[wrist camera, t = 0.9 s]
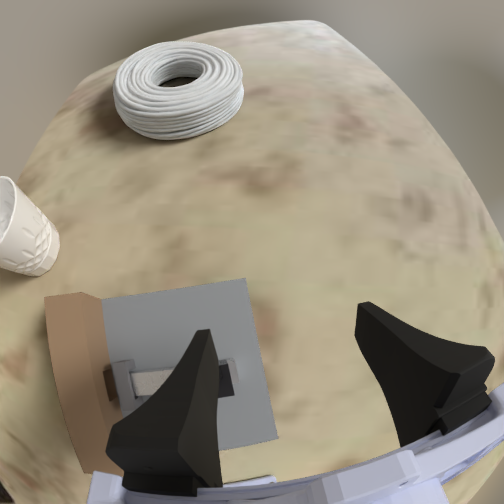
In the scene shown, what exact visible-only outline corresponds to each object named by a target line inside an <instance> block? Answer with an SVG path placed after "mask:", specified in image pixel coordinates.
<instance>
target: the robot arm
mask: <svg viewBox="0 0 504 504" xmlns="http://www.w3.org/2000/svg"><path fill="white" fill-rule="evenodd" d="M355 338H356V341H357V343H358V346H359V348H360V350H361V352H362V354H363V356H364V358H365V360H366V361H367V363H368V365H369V367H370V368H371V370H372V372H373V373H374V375H375V377H376V379H377V381H378V382H379V384H380V386H381V388H382V390H383V393H384V395H385V398H386V400H387V403H388V406H389V409H390V411H391V414H392V417H393V421H394V424H395V427H396V431H397V434H398V439H399V443H400V447H401V448H399V449H397V450H394V451H392V452H389V453H387V454H384V455H381V456H379V457H376V458H373V459H370V460H367V461H364V462H361V463H358V464H355V465H352V466H349V467H345V468H342V469H338V470H335V471H331V472H327V473H323V474H319V475H314V476H310V477H305V478H300V479H295V480H289V481H283V482H276V478H275V476H273V475H269V476H265V477H260V478H256V479H251V480H246V481H240V482H235V483H228V484H223V483H222V476H221V467H220V458H219V447H218V434H217V406H218V391H219V362H218V356H217V353H216V349H215V346H214V342H213V338H212V335H211V331H210V329H203V330H197V331H196V332H195V334H194V336H193V338H192V340H191V342H190V344H189V346H188V348H187V349H186V351H185V353H184V354H183V356H182V358H181V359H180V361H179V363H178V364H177V365H176V367H175V368H174V370H173V371H172V373H171V374H170V375H169V377H168V378H167V379H166V381H165V382H164V383H163V384H162V385H161V386H160V388H159V389H158V390H157V391H156V392H155V393H154V394H153V395H152V396H151V397H150V398H149V399H148V400H147V401H146V402H144V403H143V404H142V405H141V406H140V407H138V408H137V409H136V410H135V411H133V412H132V413H131V414H129V415H128V416H126V417H125V418H123V419H122V420H120V421H118V422H117V423H115V424H113V426H112V428H111V431H110V434H109V438H108V442H107V446H106V450H105V452H106V455H107V456H108V457H109V458H110V459H111V460H112V461H113V462H114V463H115V464H116V465H117V466H119V467H120V468H121V469H122V470H123V471H124V476H123V477H121V476H119V475H116V474H111V473H105V472H101V471H96V470H95V471H93V475H92V480H91V484H90V489H89V494H88V499H87V504H449V501H448V499H447V497H446V495H445V492H444V490H443V488H442V485H443V484H445V483H447V482H448V481H450V480H451V479H453V478H454V477H456V476H457V475H459V474H460V473H462V472H463V471H465V470H466V469H468V468H469V467H470V466H472V465H473V464H475V463H476V462H477V461H479V460H480V459H481V458H482V457H484V456H485V455H486V454H488V453H489V452H490V451H491V450H493V449H494V448H495V447H496V446H498V445H499V444H500V443H501V442H502V441H504V382H503V383H502V384H501V385H499V386H498V387H497V388H495V389H494V390H493V391H491V392H490V393H489V395H487V393H486V392H485V391H486V390H487V387H486V385H485V384H484V383H485V381H486V379H487V377H488V376H489V374H490V372H491V370H492V368H493V366H494V363H495V357H494V356H493V355H492V354H491V353H490V352H489V351H488V349H487V348H486V347H483V346H473V345H466V344H461V343H456V342H452V341H448V340H445V339H441V338H438V337H435V336H433V335H430V334H428V333H425V332H423V331H421V330H418V329H416V328H414V327H412V326H410V325H409V324H407V323H405V322H403V321H401V320H399V319H398V318H396V317H394V316H393V315H391V314H389V313H388V312H386V311H384V310H383V309H381V308H380V307H378V306H376V305H375V304H373V303H371V302H369V301H368V302H364V303H359V304H358V308H357V318H356V327H355ZM270 482H273V483H270Z"/></svg>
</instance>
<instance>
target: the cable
mask: <svg viewBox="0 0 504 504" xmlns="http://www.w3.org/2000/svg"><path fill="white" fill-rule="evenodd" d="M242 76H243V73H242V69H241V66H240V65H239V63H238V62H237V60H235V59H234V57H232V56H231V55H230V54H229V53H227V52H225V51H223V50H221V49H219V48H217V47H214V46H210V45H207V44H203V43H197V42H184V41H180V42H164V43H159V44H155V45H152V46H149V47H146V48H144V49H142V50H140V51H138V52H136V53H134V54H133V55H131V56H130V57H129V58H127V59H126V60H125V61H124V62H123V63H122V64H121V66H120V67H119V69H118V71H117V73H116V76H115V79H114V82H113V96H114V101H115V106H116V110H117V112H118V114H119V115H120V117H121V118H122V120H123V121H124V123H125V124H126V125H127V126H128V127H130V128H131V129H133V130H134V131H136V132H137V133H139V134H141V135H143V136H146V137H150V138H153V139H162V140H173V139H183V138H190V137H194V136H198V135H201V134H203V133H206V132H208V131H211V130H213V129H215V128H217V127H219V126H221V125H223V124H224V123H226V122H227V121H228V120H230V119H231V118H232V117H233V116H234V115H235V114H236V113H237V112H238V110H239V108H240V107H241V104H242V101H243V95H244V88H243V85H242ZM176 77H195V78H198V79H196V80H195V81H193V82H191V83H189V84H186V85H182V86H178V87H159V85H160V84H162V83H164V82H166V81H168V80H171V79H173V78H176Z"/></svg>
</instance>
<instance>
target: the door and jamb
mask: <svg viewBox="0 0 504 504" xmlns="http://www.w3.org/2000/svg"><path fill="white" fill-rule="evenodd" d="M44 301H45V315H46V326H47V335H48V343H49V350H50V356H51V362H52V368H53V373H54V378H55V383H56V387H57V392H58V396H59V400H60V404H61V408H62V411H63V415H64V419H65V422H66V425H67V428H68V432H69V435H70V438H71V441H72V443H73V446H74V449H75V452H76V454H77V457H78V460H79V462H80V465H81V467H82V469H83V472H84V473H88V474H93V471H95V470H96V471H101V472H105V473H111V474H116V475H119V476H124V471H123V470H122V469H121V468H120V467H119V466H117V465H116V464H115V463H114V462H113V461H112V460H111V459H110V458H109V457H108V456H107V455H106V452H105V450H106V446H107V442H108V438H109V434H110V431H111V428H112V426H113V424H115V423H117V422H118V421H120V420H122V419H123V418H125V417H126V416H128V415H129V414H131V413H132V412H133V411H135V410H136V409H137V408H138V407H140V406H141V405H142V404H143V403H144V402H146V401H147V400H148V399H149V398H150V397H151V396H152V395H142V396H134V393H133V388H132V384H131V379H130V375H129V372H131V371H143V370H153V369H162V368H171V367H176V365H177V364H178V363H179V361H180V359H181V358H182V356H183V354H184V353H185V351H186V349H187V348H188V346H189V344H190V342H191V340H192V338H193V336H194V334H195V332H196V331H197V330H203V329H210V331H211V335H212V338H213V342H214V346H215V349H216V353H217V356H218V360H224V359H230V358H234V360H235V364H236V368H237V373H238V378H239V383H234V384H233V389H234V394H235V395H234V396H229V397H223V398H218V406H217V434H218V447H219V451H220V450H227V449H233V448H238V447H243V446H248V445H253V444H258V443H262V442H267V441H271V440H275V439H278V435H277V430H276V426H275V421H274V416H273V411H272V407H271V402H270V397H269V392H268V387H267V383H266V378H265V373H264V368H263V363H262V358H261V353H260V348H259V343H258V338H257V334H256V329H255V324H254V319H253V313H252V308H251V303H250V298H249V293H248V288H247V283H246V278H242V279H236V280H230V281H224V282H218V283H211V284H205V285H198V286H192V287H185V288H179V289H172V290H165V291H158V292H152V293H145V294H137V295H130V296H123V297H115V298H108V299H99V298H96V297H93V296H90V295H88V294H85V293H82V292H79V293H71V294H64V295H56V296H49V297H44Z"/></svg>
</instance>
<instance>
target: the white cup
mask: <svg viewBox="0 0 504 504" xmlns="http://www.w3.org/2000/svg"><path fill="white" fill-rule="evenodd" d="M59 248H60V242H59V233H58V231H57V229H56V227H55V226H54V224H53V223H52V222H50V221H49V220H48V219H47V218H46V216H45V215H44V214H43V213H42V212H41V211H40V210H39V209H38V208H37V206H36V205H35V204H34V203H33V202H32V201H31V200H30V199H29V198H28V197H27V196H26V195H25V194H24V193H23V192H22V191H21V189H20V188H19V187H18V186H17V185H16V184H15V183H14V182H13V181H12V180H11V179H10V178H9V177H6V176H1V177H0V268H3V269H6V270H10V271H13V272H16V273H22V274H25V275H28V276H41V275H43V274H44V273H46V272H47V271H49V270H50V268H51V267H52V265H53V264H54V262H55V261H56V259H57V255H58V252H59Z"/></svg>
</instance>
